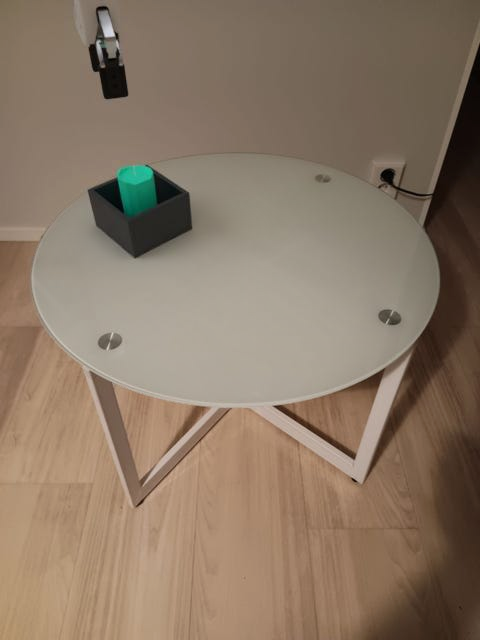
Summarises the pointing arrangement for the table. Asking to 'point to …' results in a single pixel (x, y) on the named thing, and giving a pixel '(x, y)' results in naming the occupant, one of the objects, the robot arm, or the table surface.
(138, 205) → the candle
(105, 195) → the bin
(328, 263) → the table surface
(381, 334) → the table surface
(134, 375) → the table surface
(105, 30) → the robot arm
